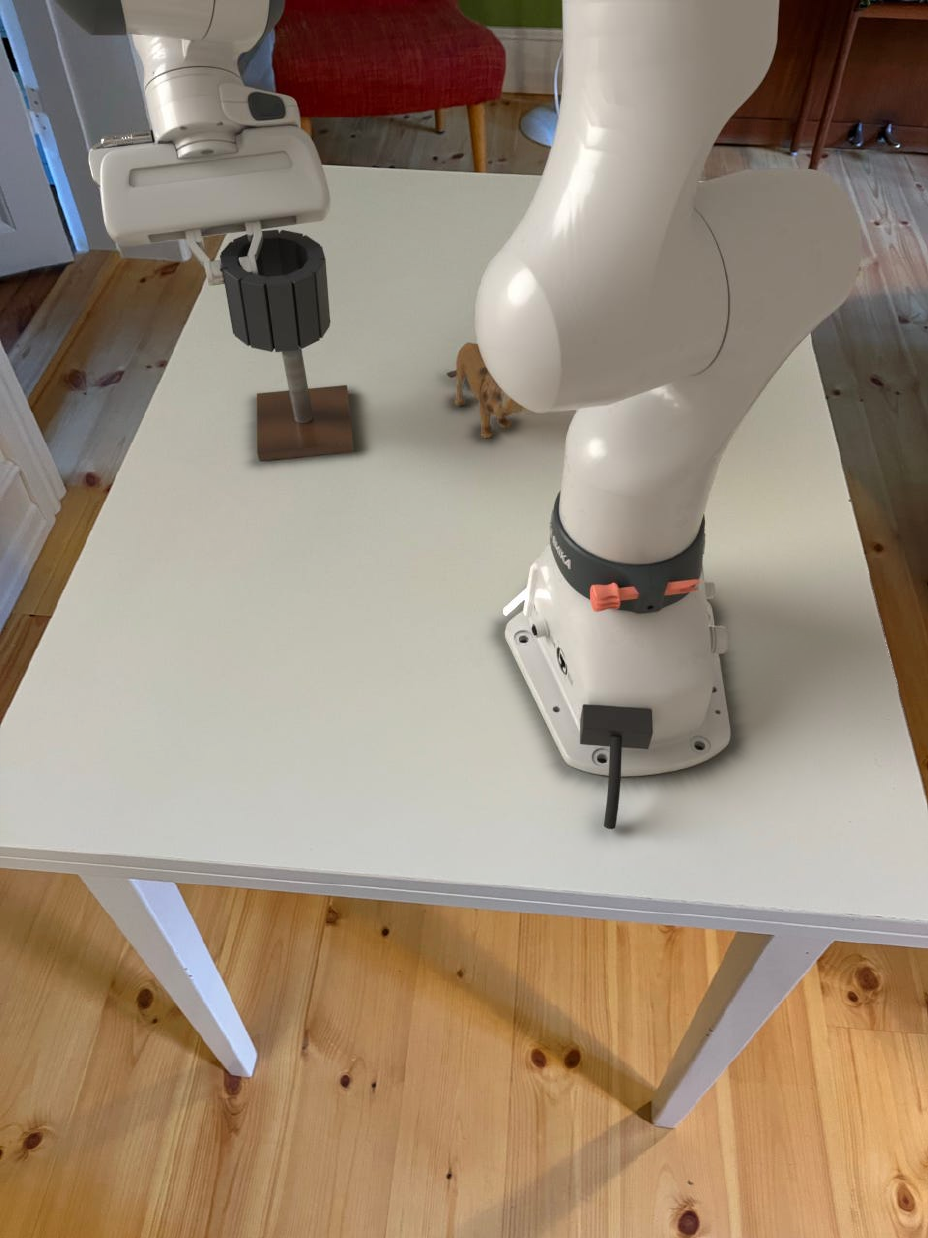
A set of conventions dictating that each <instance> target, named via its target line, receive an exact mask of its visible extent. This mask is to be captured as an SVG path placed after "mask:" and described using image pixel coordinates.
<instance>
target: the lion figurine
mask: <svg viewBox="0 0 928 1238" xmlns="http://www.w3.org/2000/svg"><path fill="white" fill-rule="evenodd" d="M446 376H448V377H449V378H450V379H453V378H455V377H456V379H457V383H456V394H455V399H454V405H455V406H457V407H462V406H465V404H466V399H465V396H464V386H465V385H464V383H465V381H466V379H467V383H468V385H469V387H470V390H471V392H472V394H473V395H474V396H475V397H476V399H478V405H479V413H480V422H481V423H480V425H481V430H480V436H481V437H482V438H484V439H489V438H491V437H492V436H493V432H492V430H493V429H492V425H491V415H493V416H495V417H496V418H497V420H496V421H497V422H496V423H497V424H498V425H499V426H500V427H501V428H502V429H507V428H510V426H511V424H512V423H511V422H512V421H511V420H510V419H508V418H507V417H508V416H511V415H512V414H518V413H520V412H522V411H523V410H524V409H525V408H524V407H523V406H521V405H519V404H518V403H517V402H515V401H514V400H513V399H511V398H510V397H509V396H508V395H507V394H506V393H505V392H504V391H503V390H502V389H501V388H500V387H499V386H498V384H497V383H496V382H495V380H494V379H493V377H492V376H491V374H490V373H489V371H488V369H487V368H486V366H485V364H484V361H483V359H482V356H481V353H480V350H479V347H478V343H472V342H469V341H468V342H465V344H464V345H463V346H462V347H461V348H460V349H459V351H458V354H457V358H456V369H455V370H452V371H449V372H447V373H446Z"/></svg>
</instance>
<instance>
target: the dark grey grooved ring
mask: <svg viewBox="0 0 928 1238" xmlns="http://www.w3.org/2000/svg"><path fill="white" fill-rule="evenodd" d="M262 234H263V243H262V246H261V249H260V252H259V255H258V258H257V260H256V265H257V270H258V275H255V274H251V273H249V272H247V271H246V270H244V269H243V268H242V267H241V266H240V261H239V257H245V256H248V252H249V249H250V246H251V243H252V242H249V241H248V237H247V233H246V234H244V235H241V236H238V237H235V238H234V239H232V241H229V243H228V244H227V245H226V246H225V247H224V248H223V249H222V250H221V252H220V254H219V258H220V259H219V260H220V262H221V266H222V272H223V277H224V283H225V284H224V288H225V294H226V295H225V296H226V299H227V300H226V301H227V304H228V306H227V307H228V310H229V317H230V323H231V329H232V334H233V335H234V337H235V338H237V339H238V340H239V341H241V343H243V344H244V345H246V346H247V347H250V348H251V349H257V350H261V351H265V352H270V353H273V352H275V353H282V352H284V351H293V350H299V347H300V348H301V349H302V350H303V349H305V348H307V347H309V346H311V345H313V344H315V343H317V342H319V341H320V339H323V337H324V336H325V334H326V333H327V331H328V330H329V328H330V326H331V314H330V312H331V311H330V301H329V300H330V299H329V287H328V275H327V262H326V256H325V252H324V249H323V246H322V245H321V244H320V243H319V242H318V241H315V239H313V238H311V237H310V236H308V235H307V234H305V235H304V234H303V233H301V232H297V231H291V230H285V229H281V230H280V231H279V229H268V230H262Z"/></svg>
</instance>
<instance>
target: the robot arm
mask: <svg viewBox="0 0 928 1238" xmlns="http://www.w3.org/2000/svg"><path fill="white" fill-rule="evenodd" d="M54 2H55V3H56V4H57V5H58V7H59V8H60V9H61V10H62V11H63V12H64V14H66V15H67V16H68V17H69V18H70V19H71V20H72V21H73V22H74V23H75V24H76V25H78V26H79V28H81V29H82V30H84V31H85V32H86V33H87V34H88V35H90V36H126V37H127V36H128V35H131V37H132V42H133V45H134V49H135V50H136V53H137V54H138V56H139V58H140V61H141V63H142V66H143V93H144V98H145V102H146V103H145V104H146V108H147V111H148V116H149V117H148V118H149V121H150V126H151V129H150V130H143V131H134V132H130V133H126V134H119V135H116V134H109V135H104V136H102V137H101V138H100V141H97V142H96V143H94V144H93V145H92V147H91V148H90V150H89V151H88V157H87V159H88V160H87V161H88V165H89V169H90V170H89V171H90V174H91V178H92V180H93V182H94V183H95V185H96V186H97V187H98V188H99V189H100V190H99V191H100V192H99V193H100V202H101V209H102V216H103V223H104V227H105V230H106V233H107V234H108V236H109V238H110V239H111V240H113V242H115V243H116V244H117V245H118V246H120V247H122V248H131V247H139V246H146V245H153V244H154V245H155V244H161V243H169V242H176V241H185V240H186V244H187V247H188V249H189V251H190V253H191V254H192V255H193V256H194V257H195V259H196V260H197V262H199V263H200V265H201V266H202V267H203V268H204V270H205V275H206V279H207V283H208V285H209V287H214V286H220V285H225V283H224V277H223V272H222V266H221V260H220V259H218V260H211V259H210V257H209V256H208V255H207V254H206V252H205V251H204V249H205V247H206V246H205V242H204V238H205V237H213V236H220V235H221V236H222V235H229V234H237V233H243V232H246V234H247V237H248V241H249V242H252V243H251V246H250V249H249V252H248V256H245V257H239V261H240V266H241V267H242V268H243V269H244V270H246V271H247V272H249V273H251V274H255V275H258V270H257V265H256V260H257V258H258V255H259V252H260V249H261V246H262V243H263V234H262V231H263V230H266V229H272V228H280V227H287V226H296V225H304V224H311V223H318V222H322V221H324V220H325V219H326V218H327V217H328V214H329V212H330V210H331V195H330V189H329V185H328V182H327V178H326V173H325V171H324V167H323V164H322V161H321V158H320V155H319V152H318V150H317V147H316V145H315V142H314V141H313V139H312V138H311V136H310V135H309V134H308V132H307V131H306V130H304V129H303V128H302V121H301V113H300V109H299V107H298V103H297V101H296V99H295V98H294V97H292V96H290V95H287V94H282V93H278V92H272V91H269V90H263V89H259V88H255V87H250V86H247V85H245V83H244V81H243V79H242V76H241V74H240V73H241V72H240V71H239V66H238V60H239V57H240V55H242V54H243V53H245V54H248V53H249V52H251V51H252V50H253V49H254V48H256V47H257V46H258V45H259V44H260V43H261V42H262V41H263V40H264V39H265V38H266V36H268V34H269V33H270V32H271V31H272V30H273V29H274V28H275V27H276V25H277V24H278V23H279V21H280V20H281V18H282V16H283V13H284V11H285V5H286V0H54ZM561 9H562V13H561V14H562V79H561V80H562V81H561V92H560V93H561V94H560V103H559V110H558V115H557V120H556V121H557V122H556V125H555V130H554V134H553V139H552V143H551V145H550V146H551V147H550V149H549V153H548V157H547V160H546V163H545V167H544V169H543V172H542V175H541V177H540V180H539V182H538V184H537V188H536V190H535V192H534V194H533V197H532V199H531V201H530V203H529V205H528V207H527V208H526V211H525V213H524V214H523V216H522V218H521V220H520V221H519V223H518V225H517V226H516V227H515V229H514V231H513V232H512V234H511V235H510V236H509V237H508V239H507V240H506V242H505V243H504V245H502V247H501V248H500V249H499V250H498V251H497V253H495V255H494V256H493V258H492V259H491V260H490V262H489V263H488V265H487V267H486V268H485V271H484V273H483V275H482V277H481V281H480V284H479V286H478V290H477V294H476V300H475V306H474V330H475V337H476V338H475V339H476V342H477V343H476V344H478V347H479V350H480V353H481V356H482V359H483V361H484V364H485V366H486V368H487V369H488V371H489V373H490V374H491V376H492V377H493V379H494V380H495V382H496V383H497V384H498V386H499V387H500V388H501V389H502V390H503V391H504V392H505V393H506V394H507V395H508V396H509V397H510V398H511V399H513V400H514V401H515V402H517V403H518V404H519V405H521V406H523V407H524V408H523V409H526V410H528V411H530V412H532V413H535V414H547V413H558V412H568V411H576V412H575V413H574V415H573V417H572V419H571V421H570V423H569V426H568V428H567V432H566V437H565V443H564V454H563V464H562V473H561V482H560V483H561V484H560V490H559V492H558V493H557V494H556V498H555V500H554V505H553V508H552V510H551V515H550V520H549V521H550V522H549V543H548V545H547V546H546V547H545V548H544V550H543V551H542V552H541V554H540V555H539V556H538V557H537V558H536V559H535V560H534V562H533V564H532V565H530V567H529V572H528V573H529V574H528V578H527V584H526V588H525V589H524V590H523V591H521V593H519V594H518V595H517V596H516V597H515V598H514V599H513V600H512V601H510V603H508V605H506V606H505V607H504V608H503V615H504V616H508V614H510V613H511V612H512V611H513V610H514V609H515V608H516V607H517V606H518V605H519V604H520V603H522V602H523V601H524V603H523V610H521V611H520V612H518V613H517V614H516V615H515V616H514V617H512V618H511V619H510V620H509V621H508V622H507V623H506V626H505V631H504V638H505V641H506V643H507V645H508V647H509V649H510V651H511V654H512V656H513V658H514V659H515V662H516V664H517V666H518V668H519V670H520V673H521V674H522V676H523V678H524V680H525V682H526V685H527V686H528V689H529V691H530V693H531V695H532V698H533V699H534V701H535V703H536V705H537V707H538V710H539V712H540V713H541V716H542V718H543V720H544V722H545V725H546V727H547V728H548V730H549V732H550V735H551V736H552V739H553V741H554V743H555V746H556V747H557V749H558V751H559V753H560V755H561V757H562V759H563V760H564V762H565V763H566V764H567V765H568V766H569V767H572V768H574V769H577V770H579V771H583V772H585V773H589V774H594V775H600V776H607V777H608V780H607V795H606V805H605V814H604V821H603V827H605V829H607V830H614V829H616V827H617V819H618V812H619V803H620V793H621V780H622V779H621V778H622V777H642V776H651V775H660V774H665V773H671V772H675V771H680V770H684V769H688V768H692V767H694V766H697V765H699V764H701V763H704V762H706V761H708V760H711V759H712V758H713V757H715V756H717V755H718V754H720V753H721V752H722V751H723V750H724V749H725V748H727V746H728V745H729V744H730V740H731V725H730V718H729V710H728V705H727V698H726V692H725V684H724V678H723V672H722V664H721V658H720V655H724V654H726V652H727V650H728V646H729V633H728V629H727V627H726V626H724V625H715V620H714V619H715V618H714V613H713V607H712V605H711V603H710V602H709V601H708V600H710V599H714V598H715V594H716V586H715V583H714V582H713V581H711V582H710V581H706V580H705V571H704V565H703V564H704V563H703V562H704V555H705V549H706V533H705V532H706V530H705V529H706V516H705V511H706V508H707V504H708V502H709V499H710V495H711V492H712V489H713V485H714V482H715V479H716V476H717V473H718V469H719V467H720V466H719V465H720V464H721V461H722V459H723V456H724V454H725V452H726V450H727V448H728V447H729V444H730V443H731V441H732V439H733V438H734V436H735V434H736V433H737V431H738V429H739V427H740V426H741V425H742V423H743V421H744V420H745V418H746V417H747V416H748V414H749V413H750V411H751V409H752V408H753V406H755V404H756V403H757V401H758V400H759V397H760V396H761V395H762V394H763V393H764V390H765V389H766V388H767V386H768V385H769V383H770V382H771V381H772V380H773V378H774V376H775V375H776V374H777V372H778V371H779V370H780V368H781V367H782V366H783V364H784V363H785V362H786V361H787V360H788V358H789V357H790V356H791V355H792V353H793V352H794V351H795V350H796V349H797V348H798V346H799V345H800V344H801V343H802V342H804V340H805V339H806V338H807V337H808V336H809V335H810V334H811V333H812V332H813V331H814V330H815V329H816V328H817V327H818V326H819V325H821V324H822V323H823V322H824V321H825V320H826V319H827V318H829V317H830V316H831V315H832V314H833V313H834V312H836V311H838V309H839V308H840V307H841V306H842V305H843V304H844V303H845V302H846V300H847V299H848V297H849V296H850V294H851V292H852V290H853V289H854V287H855V284H856V282H857V278H858V275H859V271H860V267H861V261H862V251H863V248H862V247H863V241H862V231H861V226H860V222H859V217H858V215H857V212H856V210H855V208H854V204H853V203H852V201H851V200H850V197H849V195H848V194H847V193H846V192H845V190H844V189H843V188H842V186H841V185H840V184H839V183H838V182H837V181H835V179H833V177H830V176H829V175H828V174H826V173H824V172H822V171H820V170H816V169H813V168H789V167H788V168H785V167H783V168H782V167H777V168H776V167H775V168H774V167H773V168H750V169H743V170H738V171H735V172H731V173H728V174H724V175H721V176H717V177H714V178H711V179H707V180H702V181H700V179H701V176H702V173H703V170H704V168H705V165H706V162H707V160H708V158H709V155H710V153H711V151H712V148H713V146H714V145H715V143H716V141H717V139H718V137H719V136H720V133H722V130H723V129H724V127H725V126H726V124H727V123H728V122H729V120H730V119H731V118H732V116H733V115H734V114H735V113H736V112H737V111H738V109H739V108H741V107H742V105H743V104H744V103H745V102H746V101H747V100H749V98H750V97H751V96H752V95H753V93H755V91H756V90H757V89H758V88H759V86H760V84H761V83H762V82H763V80H764V79H765V77H766V75H767V73H768V72H769V69H770V66H771V64H772V62H773V59H774V56H775V54H776V53H775V52H776V49H777V44H778V28H779V12H780V10H779V9H780V0H561ZM102 147H103V148H102ZM522 641H523V642H522ZM524 641H525V642H524ZM697 747H700V748H702V749H697ZM599 759H603V760H604V761H606V762H600V761H599Z"/></svg>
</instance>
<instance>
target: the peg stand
mask: <svg viewBox="0 0 928 1238" xmlns="http://www.w3.org/2000/svg"><path fill="white" fill-rule="evenodd" d="M298 347H299V346H298ZM281 356H282V360H283V365H284V371H285V376H286V382H287V386H288V387H287V388H288V390H279V391H268V392H257V393H256V454H257V457H258V461H259V462H264V461H272V460H274V461H275V460H283V459H294V458H304V457H305V458H306V457H313V456H324V455H334V454H343V453H344V454H345V453H354V452H355V448H354V437H353V429H352V428H353V427H352V418H351V409H350V400H349V399H350V398H349V390H348V385H347V384H343V385H341V384H340V385H333V386H331V385H330V386H322V387H321V386H320V387H311V388H309V385H308V379H307V373H306V367H305V362H304V355H303V349H301V348H300V347H299V350H293V351H284V352H281Z"/></svg>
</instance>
